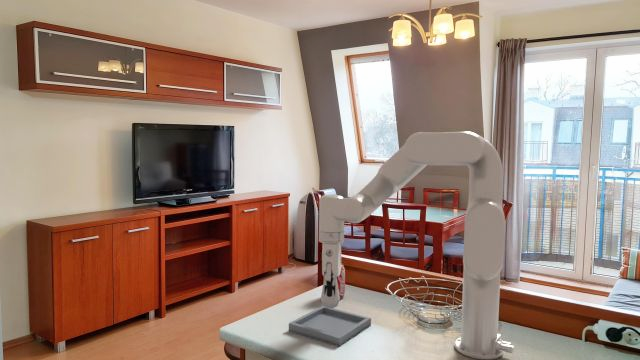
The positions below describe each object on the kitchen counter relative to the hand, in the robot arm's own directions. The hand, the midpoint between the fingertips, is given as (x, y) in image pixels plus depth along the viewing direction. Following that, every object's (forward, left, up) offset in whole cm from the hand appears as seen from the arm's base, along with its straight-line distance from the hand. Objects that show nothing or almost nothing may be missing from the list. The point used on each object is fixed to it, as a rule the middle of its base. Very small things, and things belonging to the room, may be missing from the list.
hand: (330, 295), depth 143 cm
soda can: (+14, -24, -10) cm, 30 cm away
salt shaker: (0, 0, -3) cm, 3 cm away
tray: (0, 0, -10) cm, 10 cm away
